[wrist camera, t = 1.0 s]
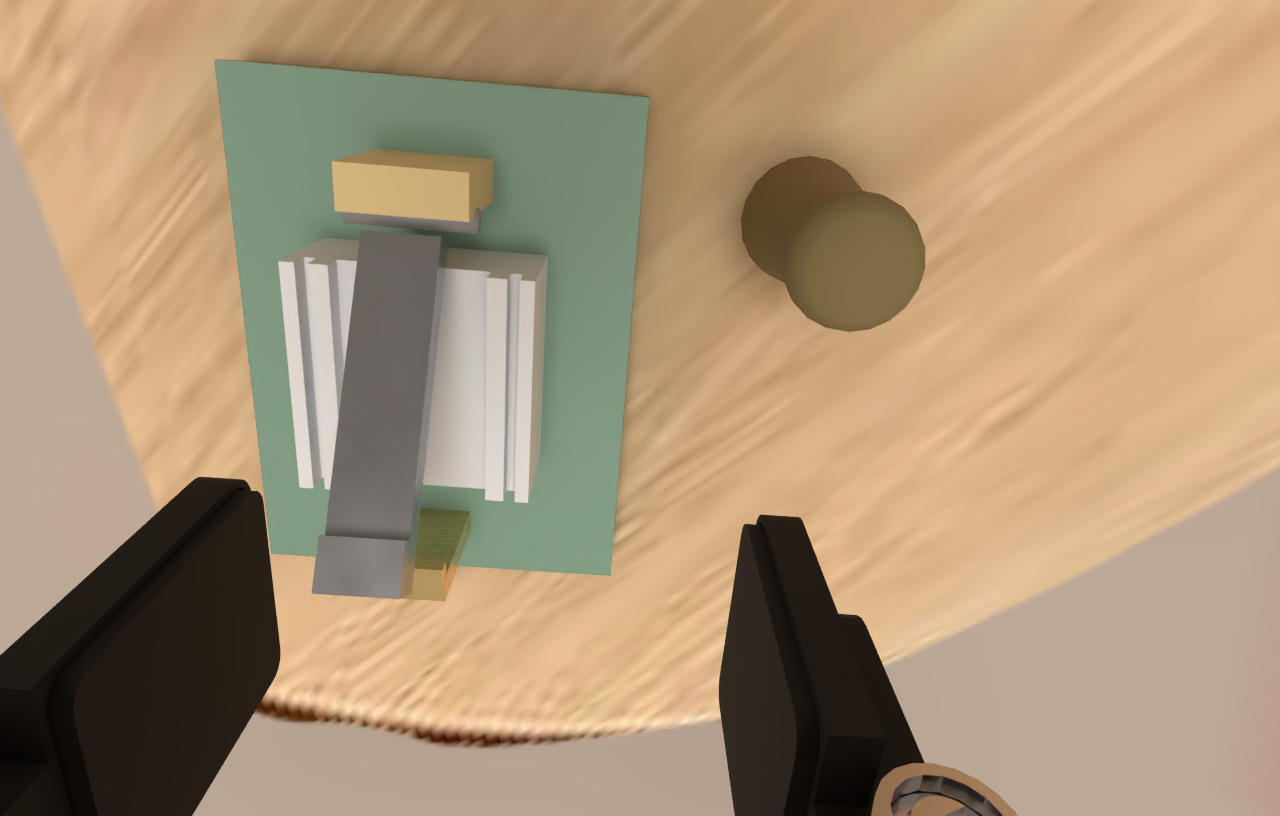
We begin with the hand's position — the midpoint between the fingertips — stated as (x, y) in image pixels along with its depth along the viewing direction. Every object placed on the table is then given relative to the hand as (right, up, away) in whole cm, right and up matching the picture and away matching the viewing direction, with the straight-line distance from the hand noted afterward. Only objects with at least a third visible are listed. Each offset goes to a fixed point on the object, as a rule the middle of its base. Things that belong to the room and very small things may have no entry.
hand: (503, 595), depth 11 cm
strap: (-8, +2, +19) cm, 21 cm away
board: (-8, +6, +29) cm, 31 cm away
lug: (-8, -3, +30) cm, 31 cm away
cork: (+10, +12, +28) cm, 32 cm away
